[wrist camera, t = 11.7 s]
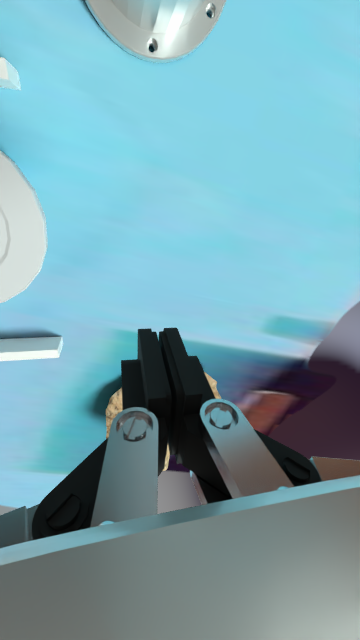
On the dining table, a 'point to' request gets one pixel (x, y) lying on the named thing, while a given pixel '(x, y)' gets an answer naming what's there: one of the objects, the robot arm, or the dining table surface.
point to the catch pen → (24, 348)
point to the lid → (19, 231)
